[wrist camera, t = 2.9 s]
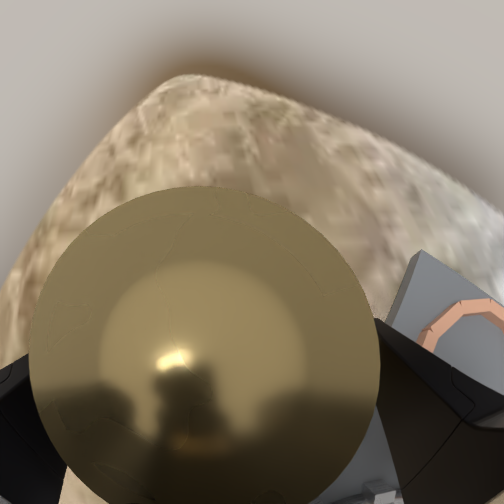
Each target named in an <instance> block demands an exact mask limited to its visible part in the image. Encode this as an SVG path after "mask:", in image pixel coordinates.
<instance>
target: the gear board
mask: <svg viewBox="0 0 504 504" xmlns="http://www.w3.org/2000/svg"><path fill="white" fill-rule="evenodd" d="M385 323H386V324H388V325H389V326H391V327H392V328H394V329H395V330H397V331H399V332H400V333H402V334H403V335H405V336H406V337H408V338H410V339H411V340H413V341H414V342H416V343H417V344H419V345H421V346H422V347H424V348H425V349H427V350H428V351H430V352H431V353H433V354H435V355H436V356H438V357H439V358H441V359H442V360H444V361H445V362H447V363H449V364H450V365H451V366H452V367H455V368H456V369H458V370H459V371H461V372H463V373H464V374H466V375H468V376H469V377H471V378H472V379H474V380H476V381H478V382H480V383H481V384H483V385H485V386H487V387H489V388H491V389H493V390H495V391H497V392H498V393H500V394H502V395H504V306H503V305H501V304H500V303H499V302H497V301H496V300H495V299H493V298H492V297H491V296H489V295H488V294H487V293H485V292H484V291H482V290H481V289H480V288H478V287H477V286H475V285H474V284H473V283H471V282H470V281H468V280H467V279H466V278H464V277H463V276H461V275H460V274H458V273H457V272H455V271H454V270H452V269H451V268H449V267H448V266H446V265H445V264H443V263H442V262H440V261H439V260H437V259H436V258H434V257H433V256H431V255H430V254H428V253H427V252H425V251H423V250H422V249H421V250H420V251H419V252H418V253H417V254H415V255H414V256H413V257H412V258H411V260H410V263H409V265H408V268H407V271H406V273H405V276H404V278H403V281H402V284H401V286H400V289H399V291H398V293H397V296H396V298H395V301H394V303H393V305H392V308H391V310H390V312H389V315H388V317H387V319H386V321H385ZM379 479H382V480H383V481H385V482H386V483H387V484H388V485H390V486H391V487H392V488H394V489H400V486H399V482H398V478H397V474H396V471H395V467H394V463H393V460H392V456H391V453H390V449H389V446H388V442H387V439H386V436H385V432H384V429H383V426H382V423H381V419H380V416H379V413H378V410H377V407H376V405H375V409H374V414H373V417H372V419H371V422H370V425H369V427H368V430H367V432H366V435H365V437H364V439H363V441H362V443H361V445H360V447H359V448H358V450H357V452H356V454H355V455H354V457H353V459H352V460H351V462H350V463H349V464H348V465H347V467H346V468H345V469H344V471H343V472H342V473H341V474H340V476H339V477H338V478H337V479H336V480H335V481H334V482H333V483H332V484H331V485H330V486H329V487H328V488H327V489H326V490H325V491H324V492H323V493H321V494H320V495H319V496H318V497H319V498H320V499H321V501H322V502H323V504H330V503H333V502H335V501H338V500H341V499H343V498H347V497H350V496H353V495H357V494H361V491H362V484H363V482H369V481H374V480H379ZM318 497H317V498H318ZM315 499H316V498H315Z"/></svg>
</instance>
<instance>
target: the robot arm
mask: <svg viewBox="0 0 504 504" xmlns="http://www.w3.org/2000/svg"><path fill="white" fill-rule="evenodd" d="M374 322H375V326H376V331H377V335H378V341H379V352H380V379H379V391H378V396H377V400H376V407H377V410H378V413H379V416H380V419H381V423H382V426H383V429H384V432H385V436H386V439H387V442H388V446H389V449H390V453H391V456H392V460H393V463H394V467H395V471H396V474H397V478H398V482H399V486H400V490H401V494H402V498H403V502H404V504H504V395H502V394H500V393H498V392H497V391H495V390H493V389H491V388H489V387H487V386H485V385H483V384H481V383H480V382H478V381H476V380H474V379H472V378H471V377H469V376H468V375H466V374H464V373H463V372H461V371H459V370H458V369H456V368H455V367H452V366H451V365H450V364H449V363H447V362H445V361H444V360H442V359H441V358H439V357H438V356H436V355H435V354H433V353H431V352H430V351H428V350H427V349H425V348H424V347H422V346H421V345H419V344H417V343H416V342H414V341H413V340H411V339H410V338H408V337H406V336H405V335H403V334H402V333H400V332H399V331H397V330H395V329H394V328H392V327H391V326H389V325H388V324H386V323H384V322H383V321H381V320H380V319H378V318H374ZM66 469H67V464H66V463H65V462H64V460H63V459H62V458H61V456H60V455H59V453H58V452H57V450H56V448H55V447H54V445H53V443H52V442H51V440H50V438H49V436H48V434H47V432H46V430H45V428H44V426H43V423H42V421H41V419H40V416H39V413H38V410H37V407H36V404H35V400H34V396H33V391H32V386H31V381H30V372H29V353H28V354H26V355H25V356H23V357H21V358H20V359H18V360H16V361H14V362H13V363H11V364H9V365H8V366H6V367H4V368H3V369H1V370H0V504H58V503H59V499H60V494H61V490H62V486H63V481H64V480H63V479H64V477H65V473H66Z"/></svg>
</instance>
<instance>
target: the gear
mask: <svg viewBox="0 0 504 504" xmlns="http://www.w3.org/2000/svg"><path fill="white" fill-rule="evenodd" d="M308 504H323V502H322V501H321V499H320V498H319V497H318V498H316V499H314V500H313V501H311V502H310V503H308ZM330 504H404V502H403V498H402V494H401V490H400V489H394V488H392V487H391V486H390V485H388V484H387V483H386V482H385V481H383V480H382V479H379V480H374V481H369V482H363V484H362V491H361V494H357V495H353V496H350V497H347V498H343V499H341V500H338V501H335V502H333V503H330Z"/></svg>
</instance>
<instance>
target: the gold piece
mask: <svg viewBox="0 0 504 504" xmlns="http://www.w3.org/2000/svg"><path fill="white" fill-rule="evenodd" d="M29 372H30V381H31V386H32V391H33V396H34V400H35V404H36V407H37V410H38V413H39V416H40V419H41V421H42V423H43V426H44V428H45V430H46V432H47V434H48V436H49V438H50V440H51V442H52V443H53V445H54V447H55V448H56V450H57V452H58V453H59V455H60V456H61V458H62V459H63V460H64V462H65V463H66V464H67V465H68V467H69V468H70V469H71V470H72V471H73V473H74V474H75V475H76V476H77V477H78V478H79V479H80V480H81V481H82V482H83V483H84V484H85V485H86V486H87V487H88V488H89V489H90V490H92V491H93V492H94V493H95V494H97V495H98V496H99V497H101V498H102V499H103V500H105V501H106V502H107V503H109V504H308V503H310V502H311V501H313V500H314V499H315V498H317V497H318V496H319V495H320V494H321V493H323V492H324V491H325V490H326V489H327V488H328V487H329V486H330V485H331V484H332V483H333V482H334V481H335V480H336V479H337V478H338V477H339V476H340V474H341V473H342V472H343V471H344V469H345V468H346V467H347V465H348V464H349V463H350V462H351V460H352V459H353V457H354V455H355V454H356V452H357V450H358V448H359V447H360V445H361V443H362V441H363V439H364V437H365V435H366V432H367V430H368V427H369V425H370V422H371V419H372V417H373V414H374V409H375V405H376V400H377V396H378V391H379V379H380V352H379V341H378V335H377V331H376V326H375V322H374V318H373V314H372V311H371V309H370V306H369V303H368V301H367V298H366V296H365V293H364V291H363V289H362V287H361V285H360V284H359V282H358V280H357V278H356V276H355V274H354V273H353V271H352V269H351V268H350V267H349V265H348V264H347V263H346V261H345V260H344V258H343V257H342V256H341V254H340V253H339V252H338V250H337V249H336V248H335V247H334V246H333V245H332V244H331V243H330V242H329V241H328V240H327V239H326V238H325V237H324V236H323V235H322V234H321V233H320V232H319V231H317V230H316V229H315V228H314V227H312V226H311V225H310V224H309V223H307V222H306V221H305V220H304V219H302V218H301V217H299V216H297V215H296V214H294V213H292V212H291V211H289V210H287V209H286V208H284V207H282V206H280V205H278V204H276V203H273V202H271V201H269V200H267V199H264V198H262V197H259V196H255V195H252V194H249V193H246V192H242V191H238V190H232V189H226V188H220V187H204V186H193V187H180V188H172V189H167V190H162V191H157V192H153V193H150V194H147V195H144V196H141V197H138V198H135V199H133V200H131V201H129V202H126V203H124V204H122V205H120V206H118V207H116V208H114V209H113V210H111V211H110V212H108V213H106V214H105V215H103V216H102V217H100V218H99V219H97V220H96V221H95V222H94V223H92V224H91V225H90V226H89V227H87V228H86V229H85V230H84V231H83V232H82V233H81V234H80V235H79V236H78V237H77V238H76V239H75V240H74V241H73V242H72V243H71V244H70V245H69V246H68V248H67V249H66V250H65V252H64V253H63V254H62V256H61V257H60V258H59V259H58V261H57V262H56V264H55V266H54V267H53V269H52V271H51V273H50V274H49V276H48V278H47V280H46V282H45V284H44V286H43V289H42V291H41V293H40V296H39V299H38V302H37V305H36V308H35V312H34V315H33V320H32V325H31V331H30V339H29Z"/></svg>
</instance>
